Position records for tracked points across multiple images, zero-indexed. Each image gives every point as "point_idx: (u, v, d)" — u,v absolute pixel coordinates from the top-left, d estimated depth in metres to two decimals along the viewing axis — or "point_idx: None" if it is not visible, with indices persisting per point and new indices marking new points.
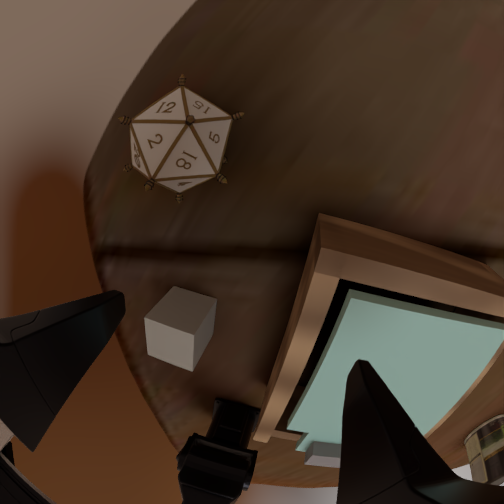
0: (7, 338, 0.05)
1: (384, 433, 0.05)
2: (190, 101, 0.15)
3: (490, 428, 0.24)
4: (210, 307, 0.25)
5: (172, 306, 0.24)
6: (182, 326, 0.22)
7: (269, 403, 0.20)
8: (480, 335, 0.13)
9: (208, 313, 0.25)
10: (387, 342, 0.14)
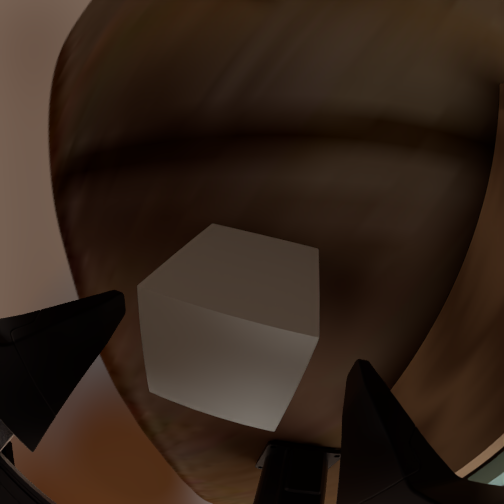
0: (7, 338, 0.05)
1: (384, 433, 0.05)
2: None
3: None
4: (316, 263, 0.10)
5: (219, 258, 0.09)
6: (268, 310, 0.07)
7: (467, 464, 0.05)
8: None
9: None
10: None
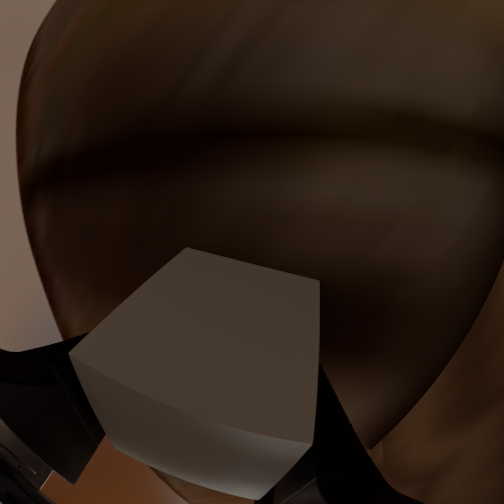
0: (49, 375, 0.04)
1: None
2: None
3: None
4: (316, 307, 0.07)
5: (184, 306, 0.06)
6: (242, 401, 0.04)
7: None
8: None
9: None
10: None
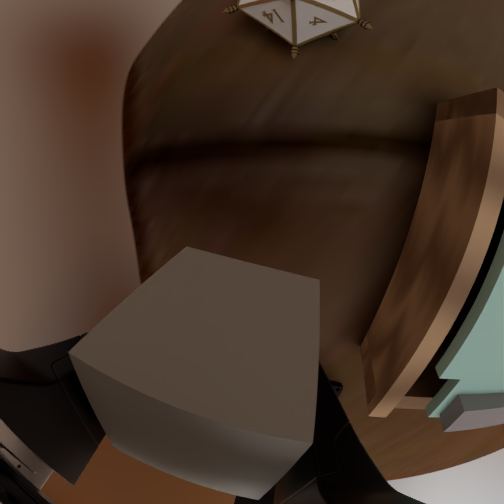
0: (49, 375, 0.04)
1: None
2: None
3: None
4: (316, 306, 0.07)
5: (184, 305, 0.06)
6: (242, 400, 0.04)
7: (424, 338, 0.12)
8: None
9: None
10: None
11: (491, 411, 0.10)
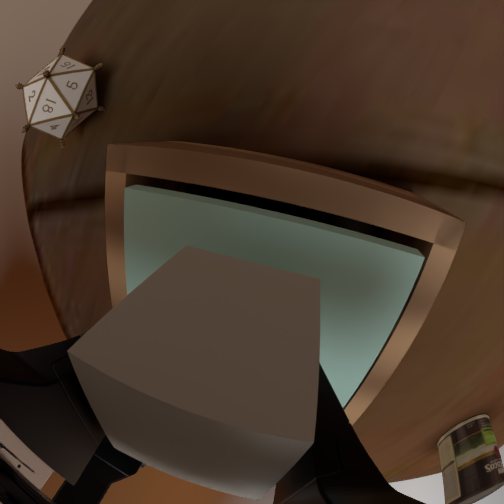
0: (49, 375, 0.04)
1: None
2: (61, 63, 0.13)
3: (467, 431, 0.22)
4: (316, 305, 0.07)
5: (183, 304, 0.06)
6: (242, 399, 0.04)
7: None
8: (354, 256, 0.11)
9: None
10: None
11: None
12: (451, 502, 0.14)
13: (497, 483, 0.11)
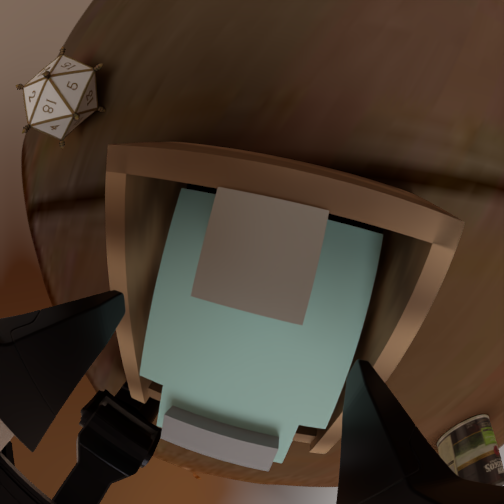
0: (7, 338, 0.05)
1: (384, 433, 0.05)
2: (61, 63, 0.13)
3: (467, 430, 0.22)
4: None
5: None
6: None
7: (119, 343, 0.18)
8: (336, 233, 0.17)
9: None
10: None
11: (212, 436, 0.15)
12: None
13: (497, 483, 0.11)
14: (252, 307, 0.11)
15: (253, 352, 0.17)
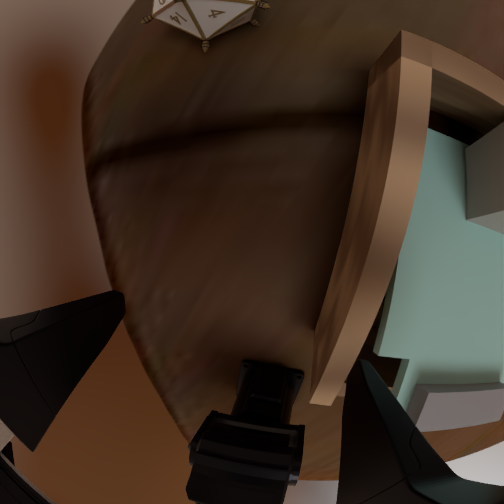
0: (7, 338, 0.05)
1: (384, 433, 0.05)
2: None
3: None
4: None
5: None
6: None
7: (348, 317, 0.13)
8: None
9: None
10: (450, 167, 0.13)
11: (471, 397, 0.09)
12: None
13: None
14: None
15: (491, 289, 0.11)
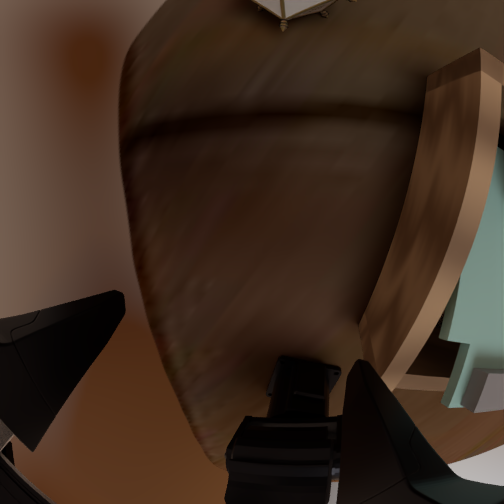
0: (7, 338, 0.05)
1: (384, 433, 0.05)
2: None
3: None
4: None
5: None
6: None
7: (426, 302, 0.12)
8: None
9: None
10: (496, 171, 0.12)
11: None
12: None
13: None
14: None
15: None
